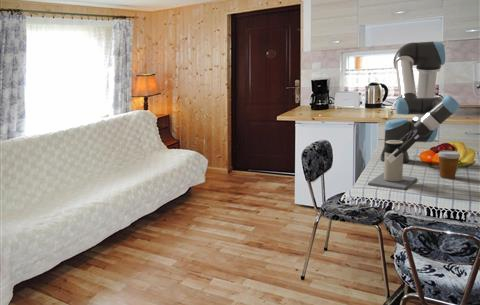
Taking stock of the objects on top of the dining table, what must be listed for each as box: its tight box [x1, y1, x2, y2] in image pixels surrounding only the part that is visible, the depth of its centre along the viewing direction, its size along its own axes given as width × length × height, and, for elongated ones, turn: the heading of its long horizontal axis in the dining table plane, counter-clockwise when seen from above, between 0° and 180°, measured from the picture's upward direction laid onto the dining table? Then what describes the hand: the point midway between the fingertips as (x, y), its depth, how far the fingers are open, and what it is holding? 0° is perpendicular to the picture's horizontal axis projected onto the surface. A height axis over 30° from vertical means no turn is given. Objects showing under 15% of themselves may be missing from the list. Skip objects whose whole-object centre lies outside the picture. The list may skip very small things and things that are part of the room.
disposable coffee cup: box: [437, 150, 461, 180], centre depth 198 cm, size 10×10×12 cm
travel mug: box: [383, 140, 404, 182], centre depth 192 cm, size 8×8×18 cm
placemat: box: [367, 172, 417, 191], centre depth 193 cm, size 20×16×1 cm
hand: (387, 157), depth 192 cm, fingers open, 12 cm apart
